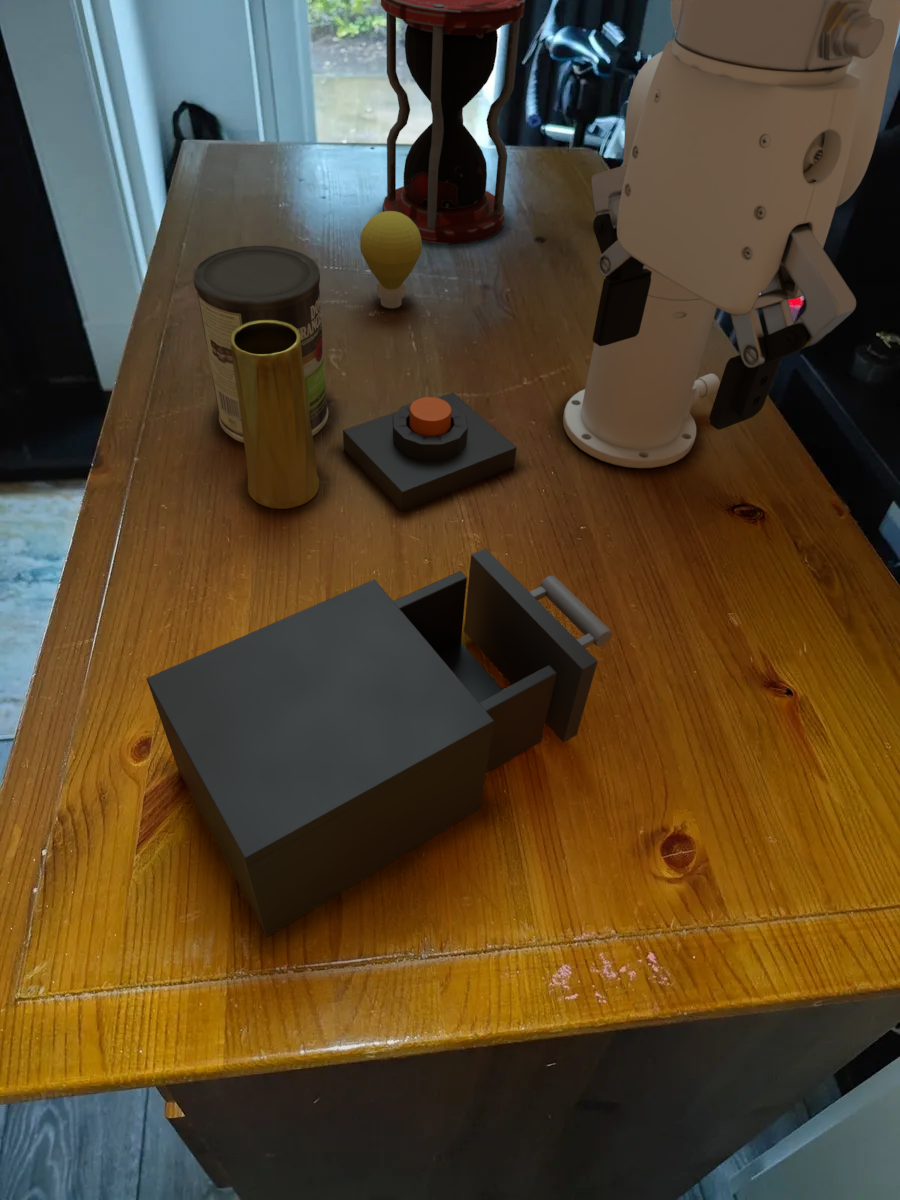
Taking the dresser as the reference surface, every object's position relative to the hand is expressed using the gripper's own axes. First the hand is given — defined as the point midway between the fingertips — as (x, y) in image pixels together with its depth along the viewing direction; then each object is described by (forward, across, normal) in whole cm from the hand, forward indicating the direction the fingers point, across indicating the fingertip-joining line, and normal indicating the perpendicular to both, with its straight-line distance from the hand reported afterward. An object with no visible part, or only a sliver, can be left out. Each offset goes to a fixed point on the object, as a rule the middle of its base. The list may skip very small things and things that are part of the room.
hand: (670, 377), depth 48 cm
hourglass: (+20, +67, -28) cm, 75 cm away
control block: (+21, +24, 0) cm, 32 cm away
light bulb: (+20, +50, -11) cm, 55 cm away
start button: (+17, +24, +1) cm, 30 cm away
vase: (+21, +27, +14) cm, 37 cm away
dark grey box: (+22, -2, +24) cm, 32 cm away
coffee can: (+21, +37, +10) cm, 43 cm away
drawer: (+21, -1, +13) cm, 24 cm away
